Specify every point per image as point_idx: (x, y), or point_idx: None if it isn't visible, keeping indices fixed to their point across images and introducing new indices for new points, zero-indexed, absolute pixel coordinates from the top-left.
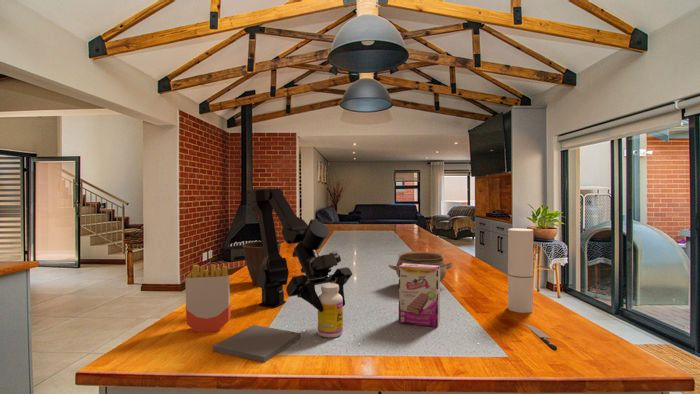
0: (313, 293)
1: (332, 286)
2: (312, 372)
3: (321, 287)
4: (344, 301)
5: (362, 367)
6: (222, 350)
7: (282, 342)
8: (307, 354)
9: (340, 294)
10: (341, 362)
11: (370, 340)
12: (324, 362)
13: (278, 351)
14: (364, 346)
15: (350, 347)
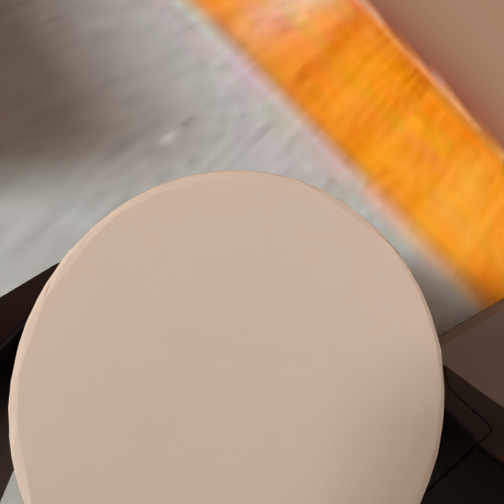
0: (499, 420)
1: (270, 264)
2: (445, 110)
3: (420, 447)
4: (44, 275)
5: (310, 9)
6: None
7: (464, 351)
8: (399, 221)
9: (12, 348)
10: (341, 83)
11: (101, 116)
12: (385, 127)
13: (480, 314)
14: (178, 99)
15: (231, 138)
